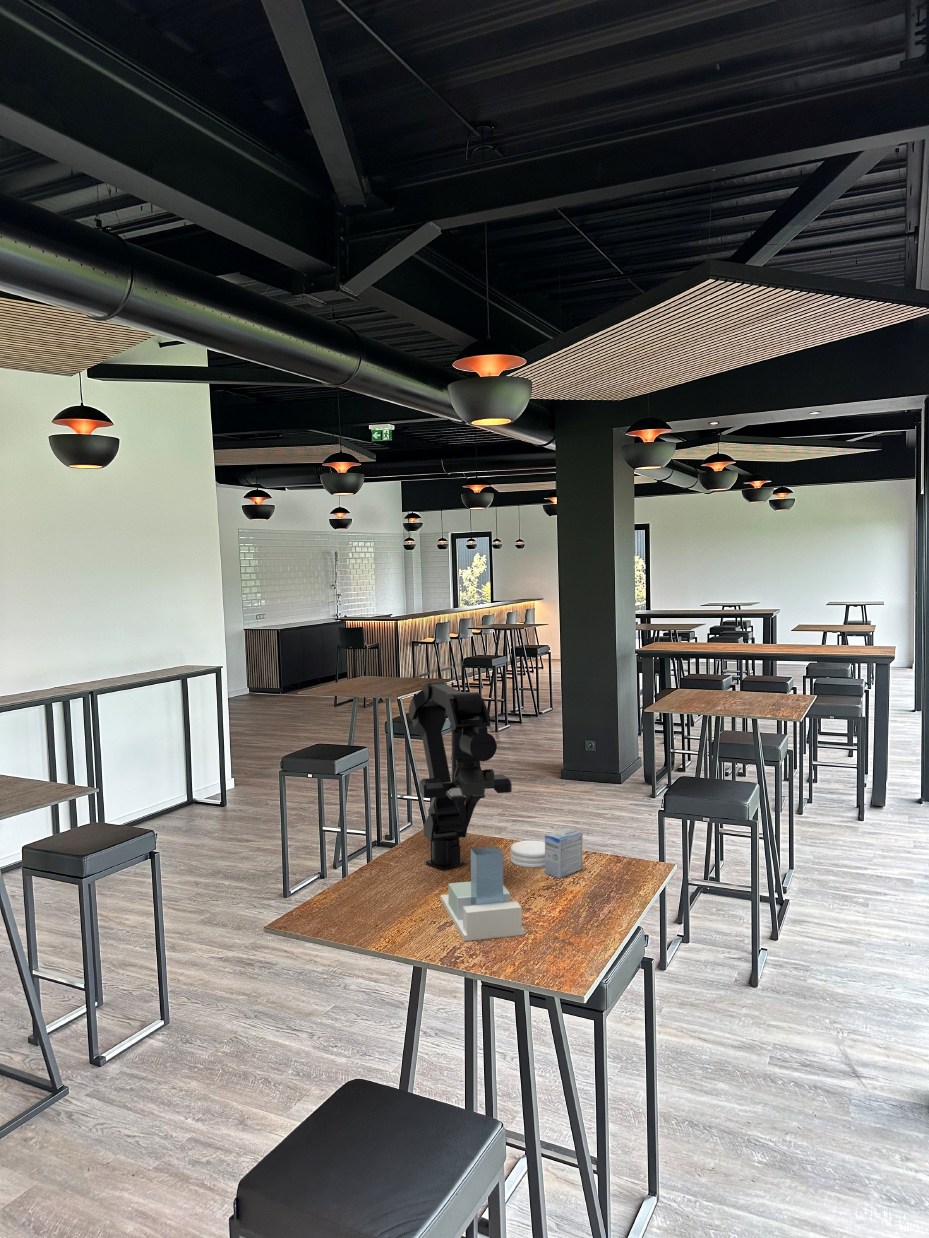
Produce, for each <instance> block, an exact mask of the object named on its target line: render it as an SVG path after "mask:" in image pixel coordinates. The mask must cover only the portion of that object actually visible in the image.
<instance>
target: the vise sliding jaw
mask: <svg viewBox="0 0 929 1238" xmlns="http://www.w3.org/2000/svg"><path fill="white" fill-rule="evenodd" d="M447 892H448V893H447V894H448V903H449V905H450V907H451V909H452V911H453V912H454V914H455V916H456V917H457V919H458V920H460V919H463V906H471V881H465V882H464V881H462V882H460V881H459V882H449V883H448V889H447ZM503 902H511V893H510V891H509V890H508V889H507V888H506V886H505V885H504V884H503Z"/></svg>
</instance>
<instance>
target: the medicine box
mask: <svg viewBox="0 0 929 1238" xmlns="http://www.w3.org/2000/svg"><path fill="white" fill-rule="evenodd" d="M544 842H545V867H544V873H545V875H548V876H551V877H554V878H557V879H562V878H564V877H567V876H569V875H572V874H575V873H576V871H577V872H579V871H581V869H582V870H583V832H582V831H580V830H577V829H574V828H571V827H570V828H569V827H566V828H562V829H559V830H557V831H553V832H550V833H547V834H544Z"/></svg>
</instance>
